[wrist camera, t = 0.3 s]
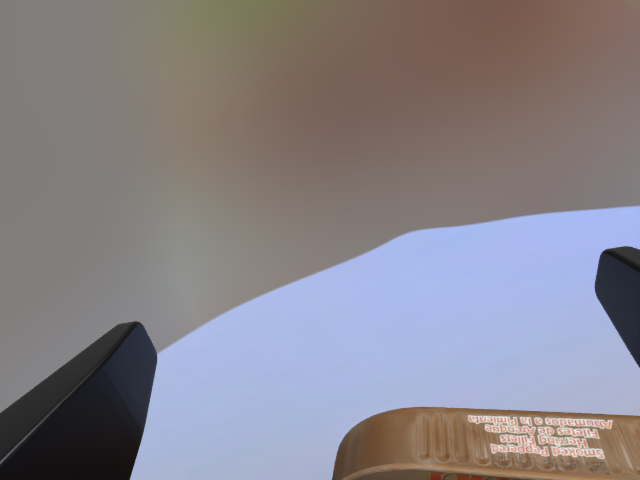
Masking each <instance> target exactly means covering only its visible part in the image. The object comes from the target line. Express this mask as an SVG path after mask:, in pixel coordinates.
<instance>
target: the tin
mask: <svg viewBox="0 0 640 480" xmlns="http://www.w3.org/2000/svg"><path fill="white" fill-rule="evenodd" d="M332 480H640V416H630V415H607V414H590V413H564V412H542V411H518V410H492V409H469V408H444V407H412V408H401V409H395V410H390V411H386V412H383V413H379V414H377V415H374V416H371V417H369V418H367V419H365V420H363V421H362V422H360V423H358V424H357V425H356V426H354V427H353V428H352V429H351V430H350V431H349V432H348V433H347V434H346V435H345V437H344V438H343V440H342V442H341V444H340V446H339V449H338V452H337V456H336V460H335V465H334V471H333V478H332Z"/></svg>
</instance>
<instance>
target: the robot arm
mask: <svg viewBox="0 0 640 480" xmlns="http://www.w3.org/2000/svg"><path fill="white" fill-rule="evenodd" d="M595 292H596V296H597V298H598V300H599V301H600V303H601V305H602V306H603V308H604V310H605V311H606V313H607V315H608V316H609V318H610V320H611V321H612V323H613V325H614V327H615V328H616V330H617V332H618V333H619V335H620V337H621V338H622V340H623V342H624V343H625V345H626V347H627V348H628V350H629V352H630V353H631V355H632V357H633V358H634V360H635V361H636V363H637V364H638V366H639V367H640V250H639V249H636V248H633V247H629V246H624V247H617V248H611V249H606V250H604V251H603V252H602V253H601V255H600V259H599V264H598V269H597V275H596V280H595ZM156 365H157V353H156V350H155V347H154V345H153V343H152V342H151V340H150V338H149V336H148V334H147V332H146V330H145V328H144V326H143V325H142V324H141V323H140V322H137V321H135V322H128V323H122V324H118V325H117V326H115V327H114V328H112V329H111V330H110V331H108V332H107V333H106V334H104V335H103V336H102V337H101V338H99V339H98V340H97V341H95V342H94V343H93V344H91V345H90V346H89V347H87V348H86V349H85V350H83V351H82V352H81V353H79V354H78V355H77V356H75V357H74V358H73V359H71V360H70V361H69V362H67V363H66V364H65V365H63V366H62V367H61V368H59V369H58V370H57V371H55V372H54V373H53V374H52V375H50V376H49V377H48V378H46V379H45V380H44V381H42V382H41V383H40V384H38V385H37V386H36V387H34V388H33V389H32V390H30V391H29V392H28V393H26V394H25V395H24V396H22V397H21V398H20V399H18V400H17V401H16V402H14V403H13V404H12V405H11V406H9V407H8V408H7V409H5V410H4V411H2V412H1V413H0V480H130V477H131V473H132V470H133V467H134V463H135V460H136V457H137V453H138V450H139V447H140V443H141V439H142V436H143V432H144V428H145V423H146V418H147V413H148V408H149V402H150V397H151V392H152V386H153V381H154V376H155V370H156Z"/></svg>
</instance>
